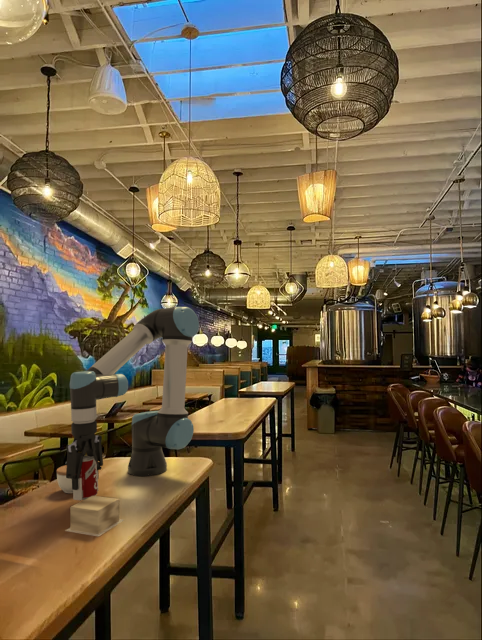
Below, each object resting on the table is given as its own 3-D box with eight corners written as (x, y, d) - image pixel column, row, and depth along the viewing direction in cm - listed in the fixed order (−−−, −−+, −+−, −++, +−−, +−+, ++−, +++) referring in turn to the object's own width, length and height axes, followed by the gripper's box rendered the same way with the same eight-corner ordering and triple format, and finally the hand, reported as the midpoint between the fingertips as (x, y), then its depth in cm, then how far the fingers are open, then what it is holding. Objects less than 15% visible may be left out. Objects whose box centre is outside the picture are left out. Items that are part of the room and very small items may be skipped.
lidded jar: (57, 487, 157) (57, 461, 157) (89, 483, 160) (88, 457, 161) (55, 497, 146) (55, 468, 147) (90, 493, 150) (89, 465, 151)
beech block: (92, 516, 127) (92, 495, 127) (119, 520, 123) (119, 499, 124) (70, 529, 118) (70, 506, 118) (97, 534, 115) (97, 510, 115)
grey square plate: (88, 514, 131) (88, 510, 131) (129, 520, 126) (129, 516, 126) (53, 533, 118) (53, 529, 118) (97, 541, 113) (97, 537, 113)
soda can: (79, 502, 133) (78, 462, 133) (71, 497, 138) (70, 458, 138) (101, 496, 137) (100, 457, 138) (92, 491, 142) (91, 453, 143)
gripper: (95, 414, 149) (97, 483, 148) (50, 427, 130) (52, 505, 130) (113, 415, 146) (115, 485, 145) (71, 428, 128) (73, 508, 127)
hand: (86, 495), depth 138 cm, fingers closed on soda can, 7 cm apart
